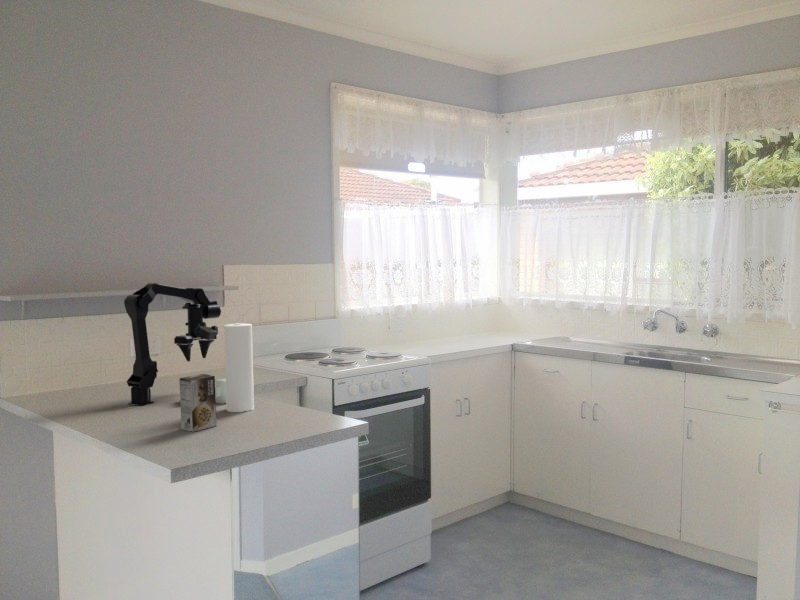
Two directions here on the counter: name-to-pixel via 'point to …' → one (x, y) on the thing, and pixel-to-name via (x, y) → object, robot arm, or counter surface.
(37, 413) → the counter surface
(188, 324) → the robot arm
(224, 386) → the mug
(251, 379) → the paper towel roll
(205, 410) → the cookie box
